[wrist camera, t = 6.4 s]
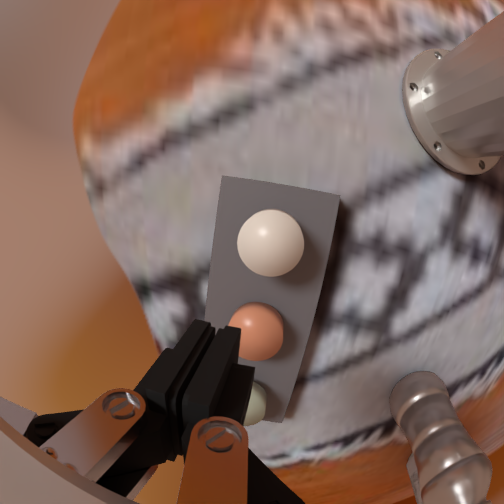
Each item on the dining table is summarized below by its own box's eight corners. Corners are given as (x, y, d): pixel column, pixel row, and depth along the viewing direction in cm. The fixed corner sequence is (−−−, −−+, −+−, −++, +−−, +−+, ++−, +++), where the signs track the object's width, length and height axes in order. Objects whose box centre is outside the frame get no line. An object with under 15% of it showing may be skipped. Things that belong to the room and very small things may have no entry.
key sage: (270, 383, 24) (269, 397, 22) (262, 415, 25) (260, 429, 23) (222, 374, 24) (217, 387, 22) (218, 406, 25) (214, 420, 23)
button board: (335, 194, 22) (340, 195, 20) (282, 410, 28) (281, 423, 26) (227, 176, 23) (222, 175, 21) (202, 395, 28) (197, 406, 27)
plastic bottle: (403, 358, 25) (481, 517, 5) (446, 368, 25) (524, 495, 5) (374, 403, 26) (414, 557, 7) (417, 409, 26) (467, 538, 7)
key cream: (307, 214, 20) (309, 217, 18) (296, 273, 21) (297, 281, 19) (246, 204, 20) (242, 205, 18) (237, 262, 21) (233, 270, 19)
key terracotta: (288, 307, 22) (288, 317, 21) (277, 352, 24) (276, 365, 22) (234, 297, 23) (229, 307, 21) (227, 342, 24) (223, 355, 22)
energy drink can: (426, 463, 28) (449, 531, 14) (397, 466, 29) (416, 541, 14) (447, 440, 27) (477, 510, 13) (418, 443, 27) (445, 522, 13)
